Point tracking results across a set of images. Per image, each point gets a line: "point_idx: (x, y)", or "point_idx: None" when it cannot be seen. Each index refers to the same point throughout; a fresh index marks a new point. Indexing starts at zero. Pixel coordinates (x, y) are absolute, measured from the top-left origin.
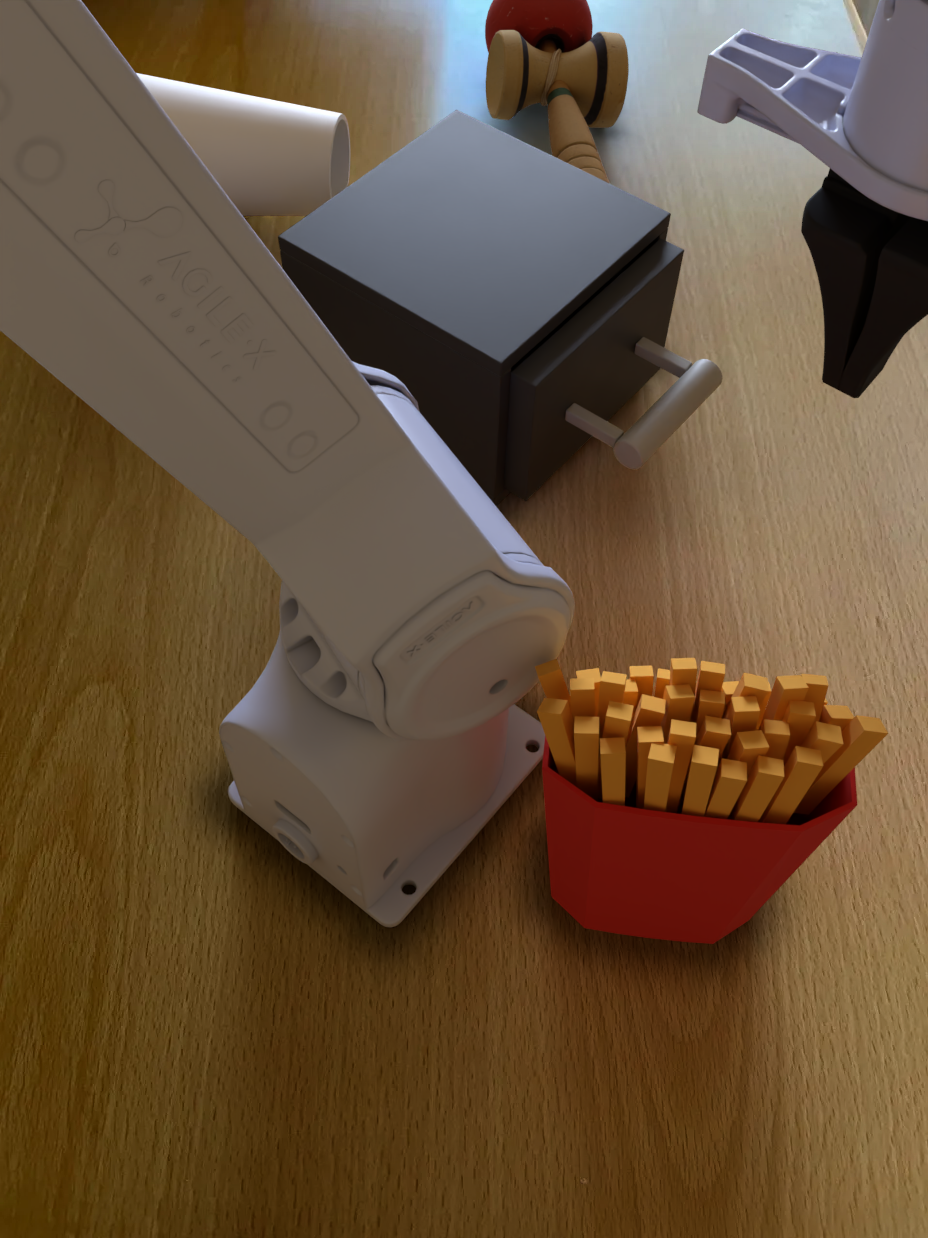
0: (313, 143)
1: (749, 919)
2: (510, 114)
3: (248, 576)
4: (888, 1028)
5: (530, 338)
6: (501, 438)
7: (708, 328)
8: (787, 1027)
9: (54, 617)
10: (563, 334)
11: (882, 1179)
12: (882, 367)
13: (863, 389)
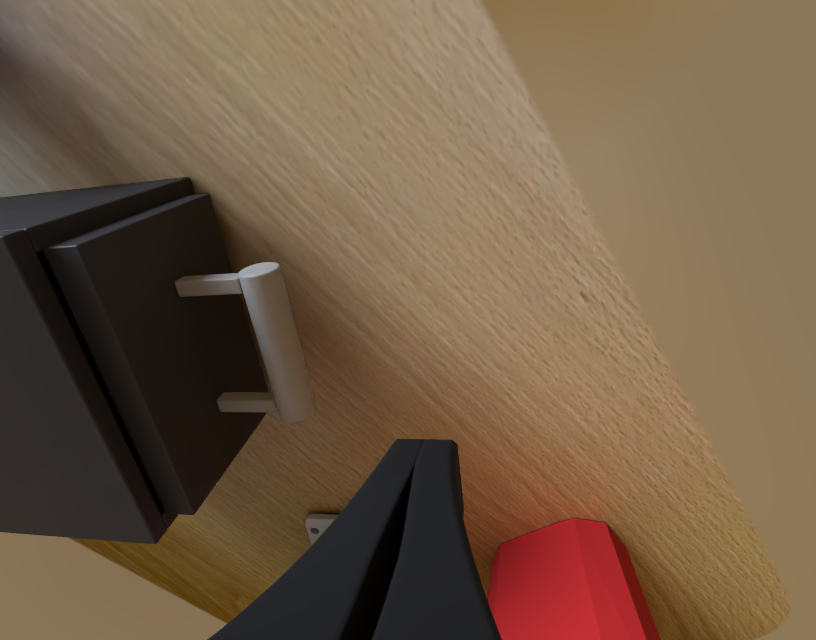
0: None
1: (626, 549)
2: None
3: (216, 524)
4: (745, 557)
5: (138, 508)
6: None
7: (180, 60)
8: (682, 580)
9: (185, 586)
10: (145, 453)
11: (774, 615)
12: (457, 456)
13: (462, 509)
